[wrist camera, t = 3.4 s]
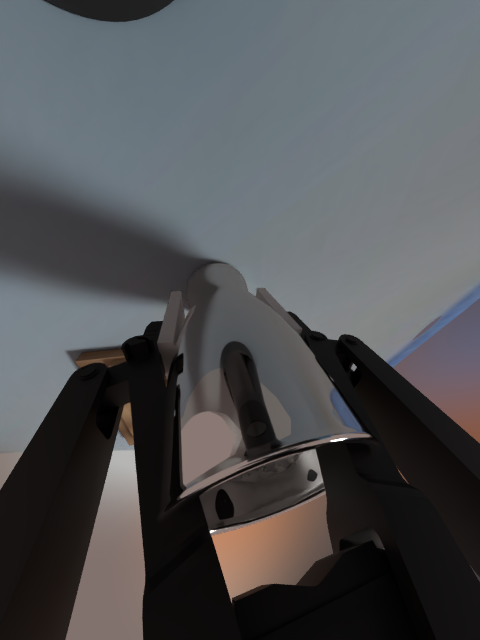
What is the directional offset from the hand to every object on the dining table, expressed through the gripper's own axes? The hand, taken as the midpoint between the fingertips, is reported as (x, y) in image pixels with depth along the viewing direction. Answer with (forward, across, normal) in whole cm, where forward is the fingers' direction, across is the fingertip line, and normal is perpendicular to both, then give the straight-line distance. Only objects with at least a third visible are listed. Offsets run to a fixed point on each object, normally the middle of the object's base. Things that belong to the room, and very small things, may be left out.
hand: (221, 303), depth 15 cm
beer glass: (+3, 0, 0) cm, 3 cm away
